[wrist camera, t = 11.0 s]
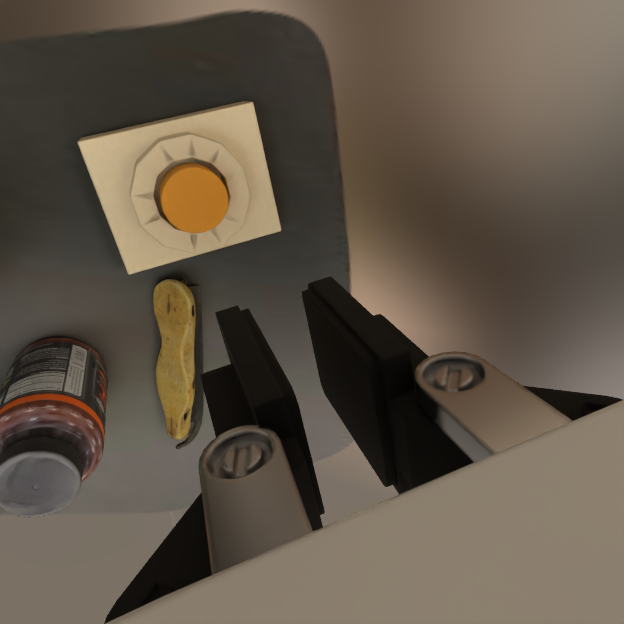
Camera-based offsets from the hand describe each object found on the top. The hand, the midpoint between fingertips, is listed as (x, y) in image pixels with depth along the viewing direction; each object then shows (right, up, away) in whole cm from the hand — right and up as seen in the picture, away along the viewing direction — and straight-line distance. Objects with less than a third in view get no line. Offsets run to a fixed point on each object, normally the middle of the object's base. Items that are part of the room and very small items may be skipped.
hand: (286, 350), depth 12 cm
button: (-6, +8, +17) cm, 20 cm away
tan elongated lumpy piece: (-9, -3, +25) cm, 26 cm away
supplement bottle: (-16, -3, +22) cm, 28 cm away
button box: (-7, +9, +20) cm, 23 cm away
